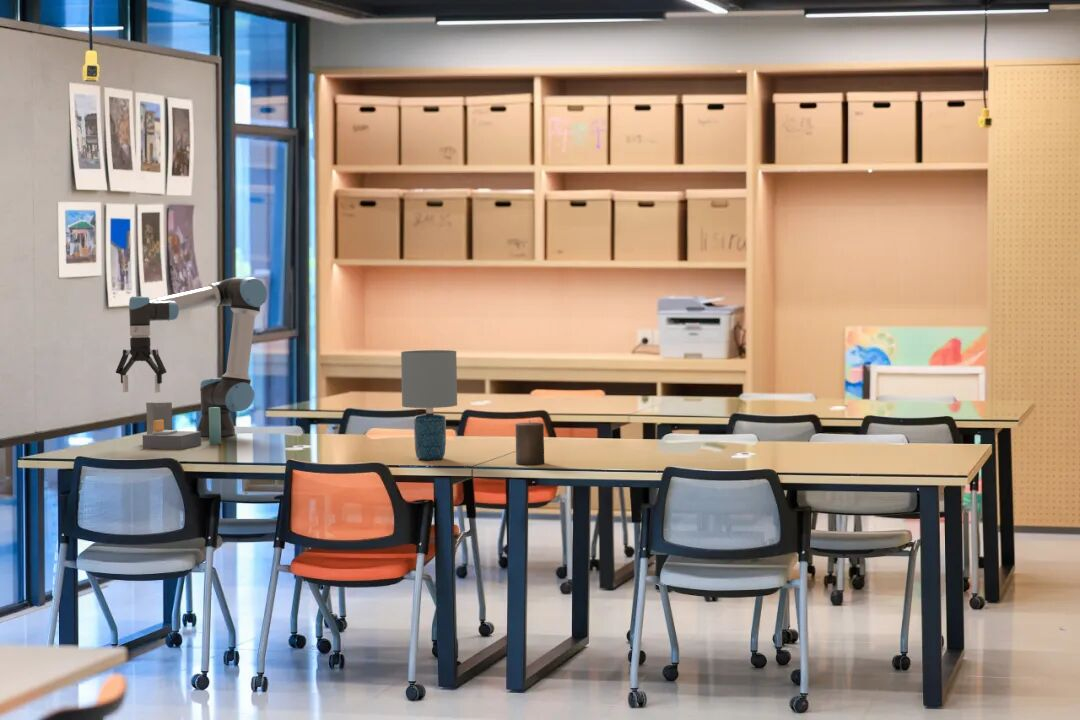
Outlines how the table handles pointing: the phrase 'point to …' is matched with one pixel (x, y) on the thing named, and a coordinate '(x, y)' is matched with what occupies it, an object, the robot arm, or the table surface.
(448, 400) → the lamp
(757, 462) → the table surface
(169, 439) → the socket
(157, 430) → the shutter
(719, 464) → the table surface
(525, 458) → the pillar candle
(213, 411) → the plug peg
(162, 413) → the skincare box
